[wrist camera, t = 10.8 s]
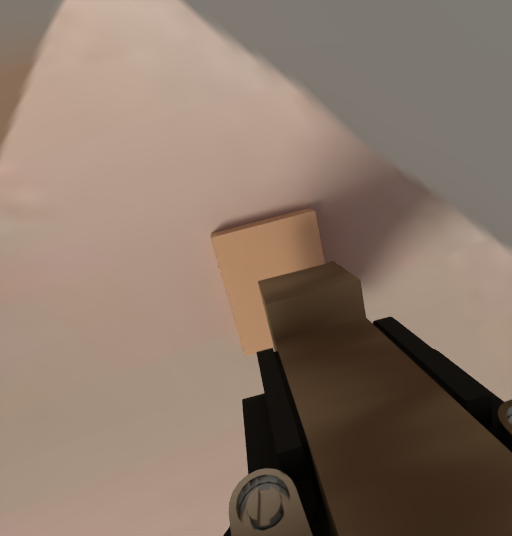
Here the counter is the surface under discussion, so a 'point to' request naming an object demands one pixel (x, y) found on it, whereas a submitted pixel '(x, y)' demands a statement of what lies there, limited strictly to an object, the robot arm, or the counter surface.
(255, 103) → the counter surface
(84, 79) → the counter surface
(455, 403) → the tan stepped block
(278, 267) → the tile
